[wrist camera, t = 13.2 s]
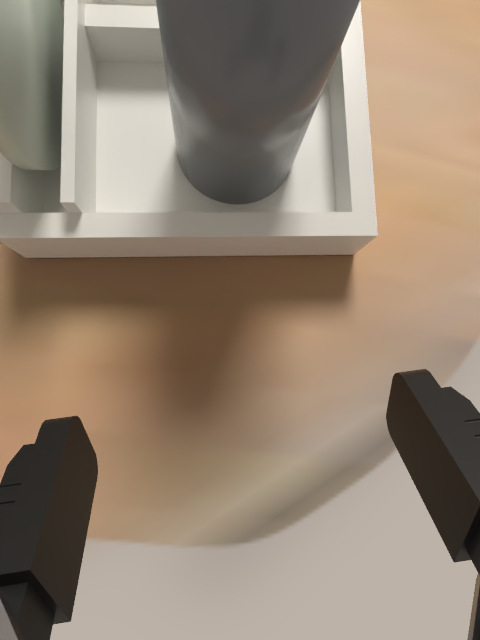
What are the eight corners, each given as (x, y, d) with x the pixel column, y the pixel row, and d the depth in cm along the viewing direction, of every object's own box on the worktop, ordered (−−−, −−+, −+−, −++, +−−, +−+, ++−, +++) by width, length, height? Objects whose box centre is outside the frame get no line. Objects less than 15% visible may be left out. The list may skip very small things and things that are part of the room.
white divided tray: (25, 258, 19) (-168, 135, 9) (33, -5, 20) (-124, -346, 11) (354, 254, 20) (491, 143, 10) (337, 6, 22) (443, -291, 12)
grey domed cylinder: (177, 204, 19) (136, -26, 8) (175, 92, 20) (136, -262, 9) (296, 204, 19) (412, -15, 8) (291, 94, 20) (392, -240, 9)
